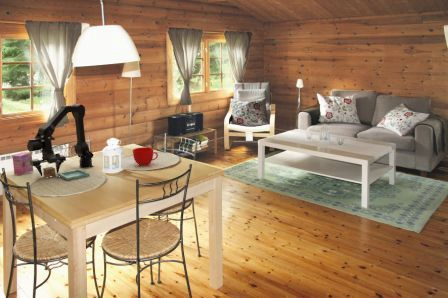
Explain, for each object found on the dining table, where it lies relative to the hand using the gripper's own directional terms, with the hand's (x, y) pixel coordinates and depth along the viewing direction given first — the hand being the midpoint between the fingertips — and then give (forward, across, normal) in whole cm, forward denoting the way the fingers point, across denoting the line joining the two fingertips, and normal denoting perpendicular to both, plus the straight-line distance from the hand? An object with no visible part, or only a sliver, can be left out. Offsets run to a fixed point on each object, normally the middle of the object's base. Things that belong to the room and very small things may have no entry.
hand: (49, 174), depth 247 cm
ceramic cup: (+1, +55, -18) cm, 58 cm away
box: (+1, -8, +19) cm, 21 cm away
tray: (+1, +10, -10) cm, 14 cm away
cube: (+1, 0, 0) cm, 1 cm away
